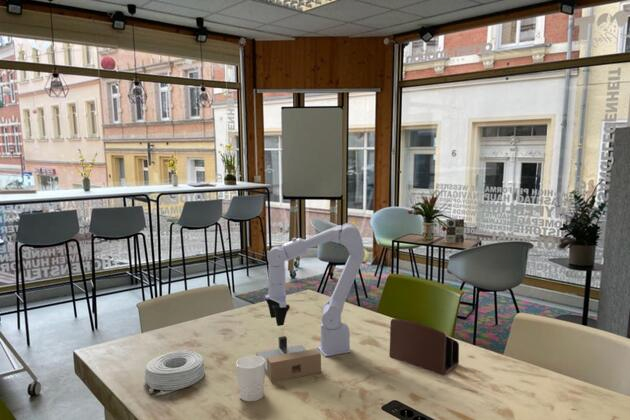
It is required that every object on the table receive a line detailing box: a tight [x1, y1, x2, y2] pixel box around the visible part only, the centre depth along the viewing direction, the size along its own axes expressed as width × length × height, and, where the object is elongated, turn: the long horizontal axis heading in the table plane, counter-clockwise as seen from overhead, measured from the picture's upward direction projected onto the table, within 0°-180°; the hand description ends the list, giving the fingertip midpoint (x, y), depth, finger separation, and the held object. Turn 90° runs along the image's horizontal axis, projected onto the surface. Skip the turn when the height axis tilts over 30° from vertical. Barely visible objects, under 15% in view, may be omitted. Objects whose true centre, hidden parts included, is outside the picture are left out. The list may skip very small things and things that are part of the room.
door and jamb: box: [255, 344, 322, 383], centre depth 144 cm, size 18×16×6 cm
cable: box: [143, 349, 206, 397], centre depth 137 cm, size 18×18×6 cm
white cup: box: [235, 354, 266, 402], centre depth 126 cm, size 8×8×10 cm
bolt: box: [277, 335, 290, 355], centre depth 146 cm, size 10×2×5 cm, turn 21°
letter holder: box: [388, 318, 460, 377], centre depth 145 cm, size 10×20×14 cm, turn 47°
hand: (277, 321), depth 154 cm, fingers open, 7 cm apart
